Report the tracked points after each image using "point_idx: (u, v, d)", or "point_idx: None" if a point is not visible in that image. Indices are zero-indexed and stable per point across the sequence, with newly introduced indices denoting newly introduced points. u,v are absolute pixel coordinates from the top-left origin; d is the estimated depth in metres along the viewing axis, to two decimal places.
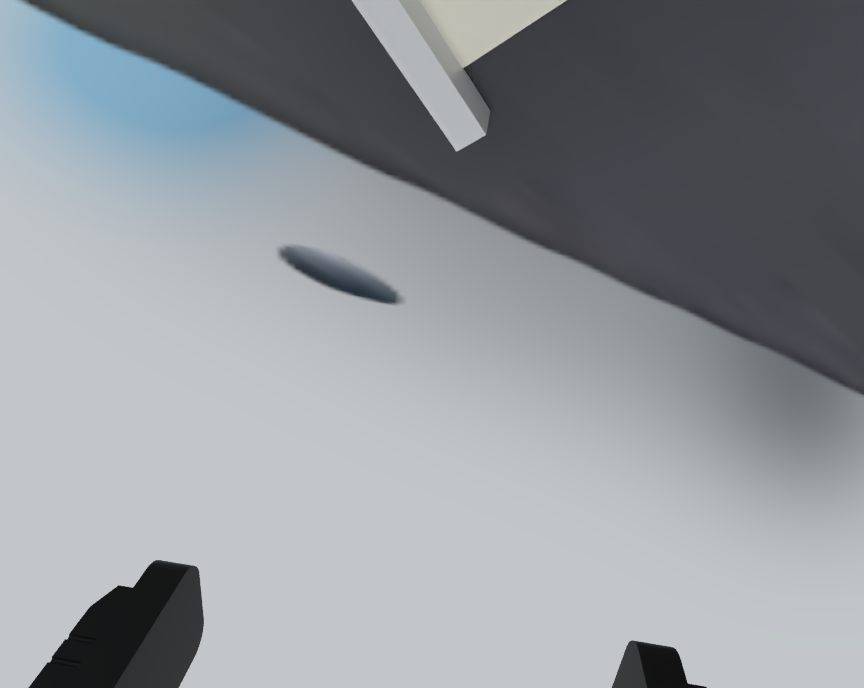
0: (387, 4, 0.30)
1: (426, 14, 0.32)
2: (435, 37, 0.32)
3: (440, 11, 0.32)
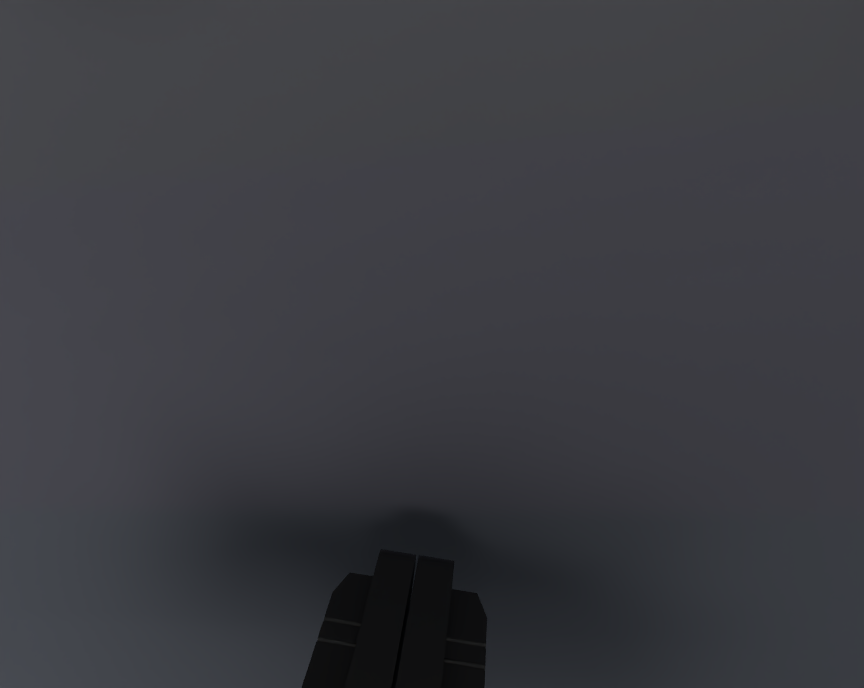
0: None
1: None
2: None
3: None
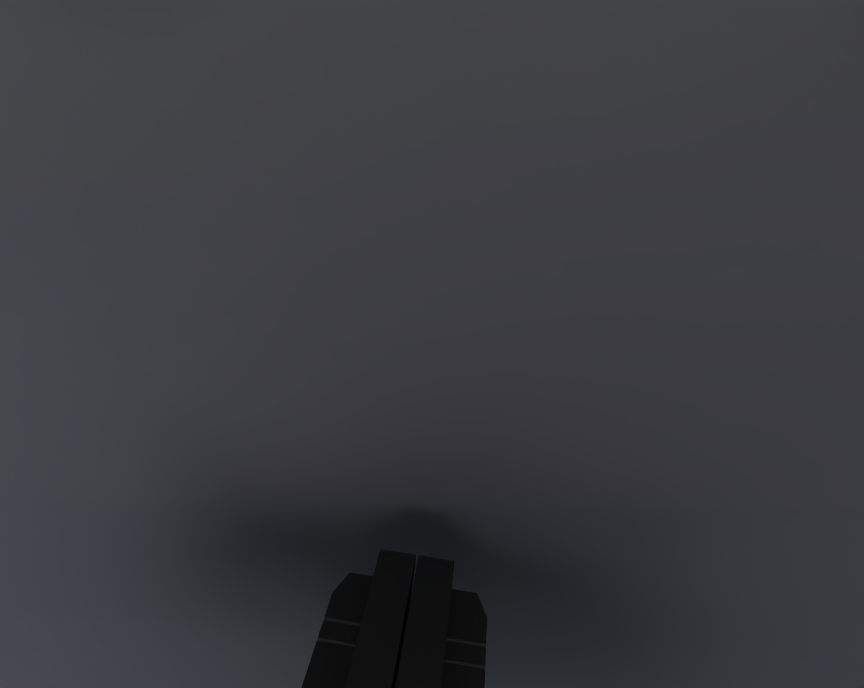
0: None
1: None
2: None
3: None
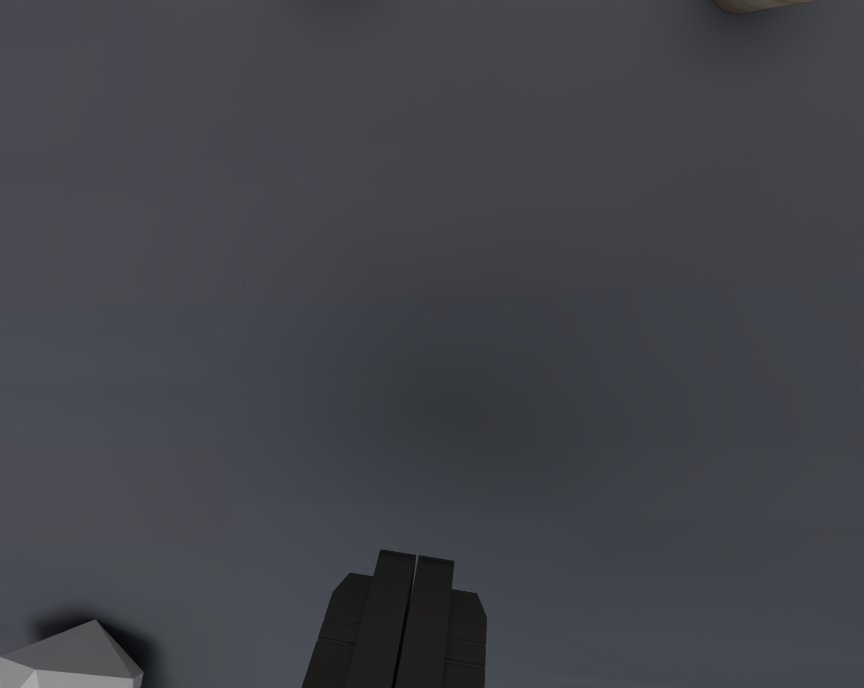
0: None
1: None
2: None
3: None
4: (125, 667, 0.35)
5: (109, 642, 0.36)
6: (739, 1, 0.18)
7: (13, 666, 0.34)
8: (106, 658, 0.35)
